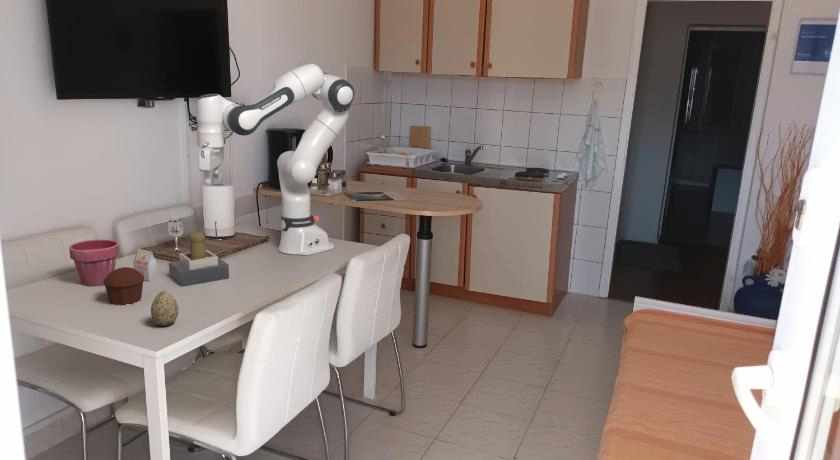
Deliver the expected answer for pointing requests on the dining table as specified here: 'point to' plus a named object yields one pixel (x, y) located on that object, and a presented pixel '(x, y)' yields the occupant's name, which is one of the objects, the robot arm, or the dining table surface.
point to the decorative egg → (164, 309)
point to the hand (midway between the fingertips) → (212, 180)
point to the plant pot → (94, 260)
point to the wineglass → (175, 229)
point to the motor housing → (198, 269)
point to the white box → (146, 265)
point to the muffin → (124, 286)
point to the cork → (197, 245)
